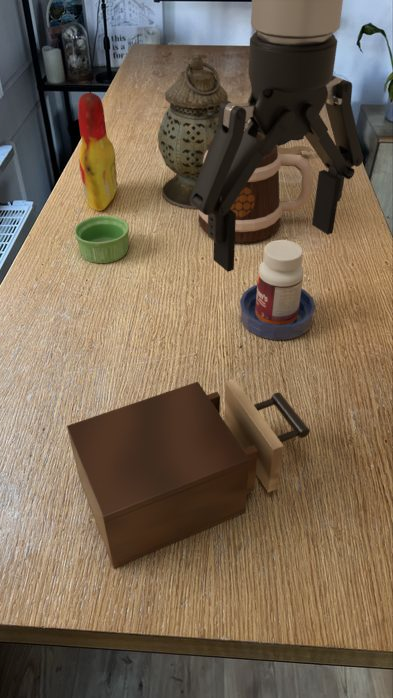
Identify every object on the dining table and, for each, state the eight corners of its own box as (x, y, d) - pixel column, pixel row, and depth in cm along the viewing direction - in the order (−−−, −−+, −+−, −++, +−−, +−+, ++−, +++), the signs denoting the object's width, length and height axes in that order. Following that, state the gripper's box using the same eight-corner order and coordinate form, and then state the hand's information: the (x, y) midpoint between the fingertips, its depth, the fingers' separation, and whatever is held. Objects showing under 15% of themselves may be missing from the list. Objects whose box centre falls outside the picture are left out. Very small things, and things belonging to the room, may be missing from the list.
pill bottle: (249, 306, 87) (253, 240, 80) (288, 300, 89) (296, 234, 81) (263, 332, 83) (269, 265, 75) (304, 325, 84) (314, 258, 77)
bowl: (327, 328, 84) (329, 314, 82) (262, 349, 81) (263, 335, 79) (288, 288, 91) (289, 275, 89) (227, 307, 88) (227, 293, 86)
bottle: (111, 216, 108) (99, 106, 95) (78, 215, 109) (60, 105, 95) (123, 187, 117) (112, 82, 104) (91, 186, 118) (77, 81, 104)
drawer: (268, 409, 71) (273, 365, 67) (316, 472, 64) (325, 429, 60) (125, 461, 66) (119, 418, 61) (161, 537, 59) (157, 495, 54)
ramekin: (142, 250, 100) (140, 227, 97) (101, 272, 95) (98, 249, 92) (107, 231, 104) (104, 209, 101) (67, 252, 99) (62, 229, 97)
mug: (196, 246, 101) (195, 162, 91) (198, 203, 112) (198, 124, 102) (313, 246, 100) (325, 162, 90) (303, 204, 111) (313, 124, 101)
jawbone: (277, 169, 123) (277, 160, 122) (230, 136, 137) (229, 128, 136) (313, 157, 126) (314, 148, 124) (263, 126, 140) (263, 117, 138)
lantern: (235, 178, 120) (240, 44, 103) (231, 212, 109) (236, 69, 92) (166, 175, 121) (160, 42, 104) (156, 209, 110) (148, 67, 93)
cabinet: (198, 435, 70) (197, 381, 64) (245, 512, 62) (249, 459, 56) (79, 479, 65) (66, 425, 59) (113, 568, 57) (102, 517, 51)
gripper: (368, 5, 58) (337, 202, 72) (145, 45, 48) (159, 264, 62) (428, 20, 53) (382, 229, 67) (193, 68, 43) (196, 300, 57)
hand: (274, 246), depth 65 cm, fingers open, 13 cm apart
